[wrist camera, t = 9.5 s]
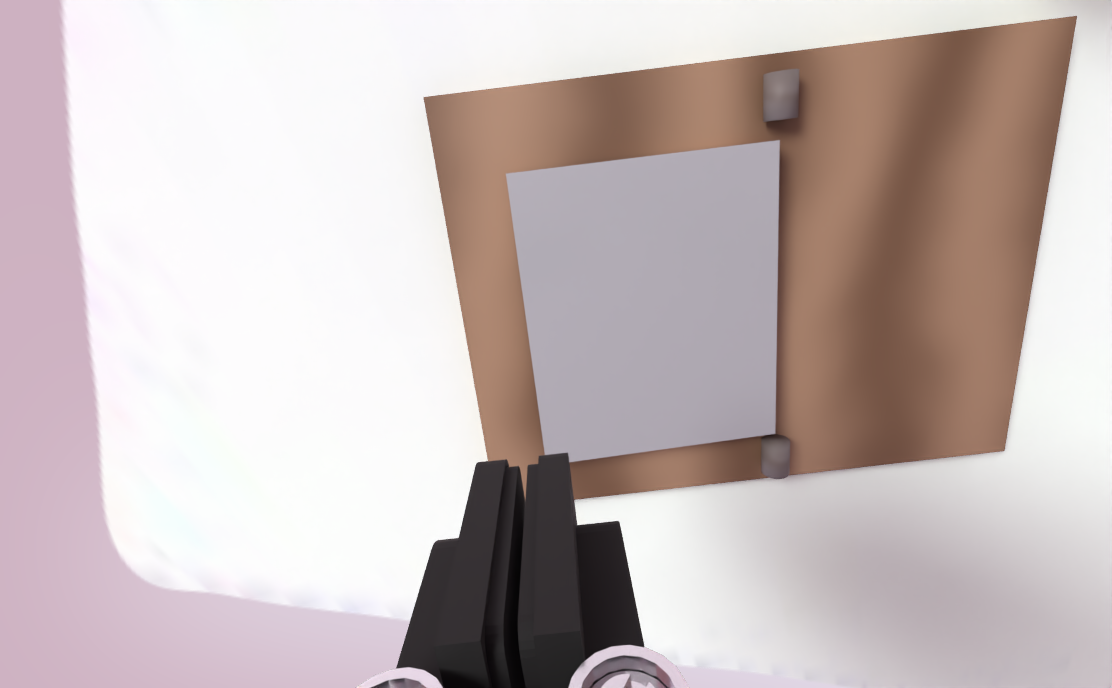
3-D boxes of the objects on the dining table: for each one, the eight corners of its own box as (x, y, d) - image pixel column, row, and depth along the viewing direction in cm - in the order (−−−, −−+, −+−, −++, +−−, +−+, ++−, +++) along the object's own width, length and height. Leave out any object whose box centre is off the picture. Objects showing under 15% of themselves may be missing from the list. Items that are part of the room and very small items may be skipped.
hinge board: (1052, 22, 21) (1109, 7, 19) (987, 440, 27) (1025, 464, 24) (428, 99, 21) (416, 93, 19) (498, 496, 27) (494, 524, 25)
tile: (505, 173, 20) (506, 173, 21) (546, 465, 23) (545, 451, 24) (779, 140, 20) (765, 141, 21) (775, 433, 24) (763, 421, 25)
